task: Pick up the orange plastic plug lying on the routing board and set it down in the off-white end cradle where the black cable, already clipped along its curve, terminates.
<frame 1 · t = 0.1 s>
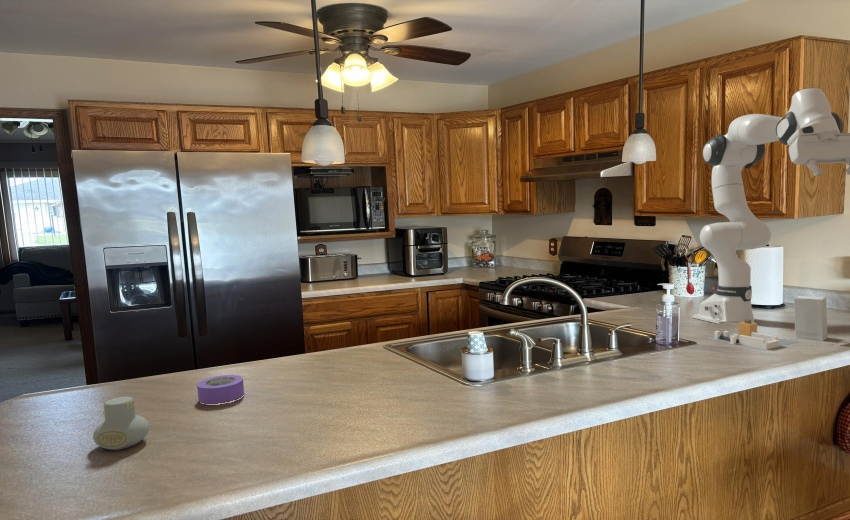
hand: (835, 174, 168), 54 cm above the countertop, tool tilted 30°, fingers open, 8 cm apart
air freshener: (122, 445, 128), on the countertop
skincare box: (810, 341, 194), on the countertop
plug: (747, 337, 198), point 1 cm above the countertop, touching route board
route board: (750, 343, 194), on the countertop
tape roll: (221, 399, 158), on the countertop
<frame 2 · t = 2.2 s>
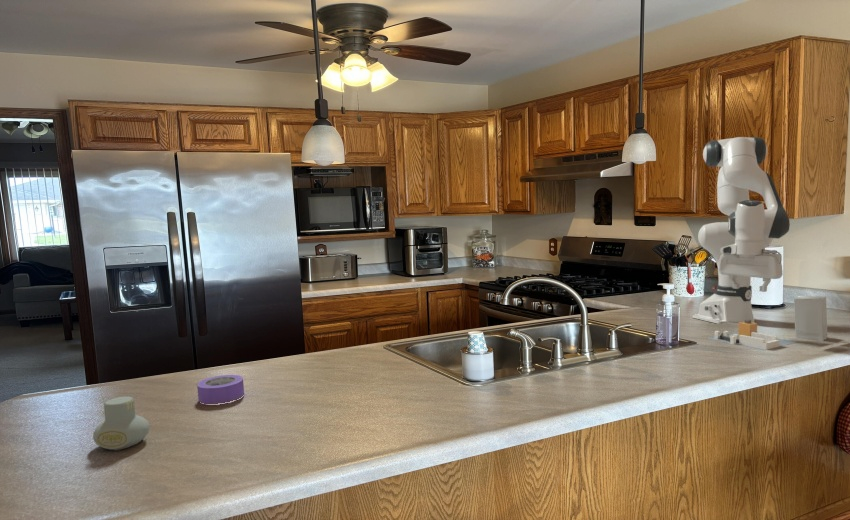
hand: (749, 290, 196), 17 cm above the countertop, tool pointing down, fingers open, 8 cm apart
nothing on the countertop moved.
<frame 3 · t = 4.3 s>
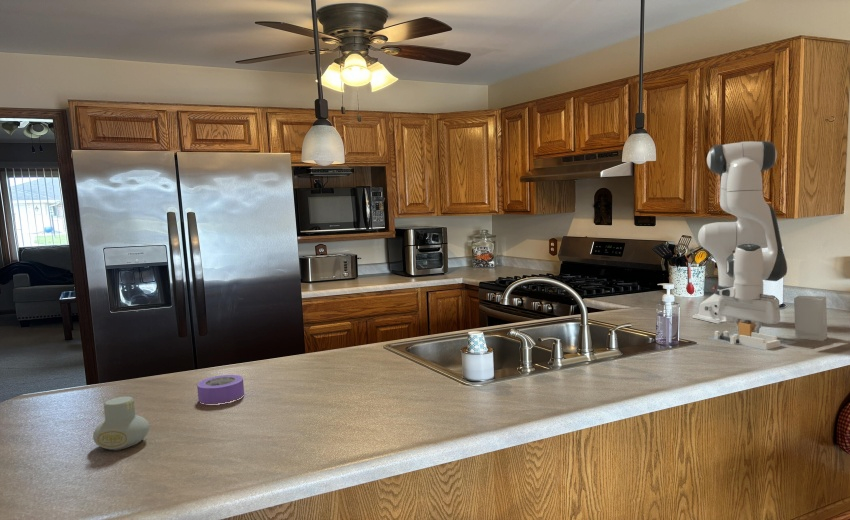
hand: (747, 332, 197), 3 cm above the countertop, tool pointing down, fingers closed on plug, 4 cm apart
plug: (747, 337, 198), point 1 cm above the countertop, touching gripper, route board
everything else where it was.
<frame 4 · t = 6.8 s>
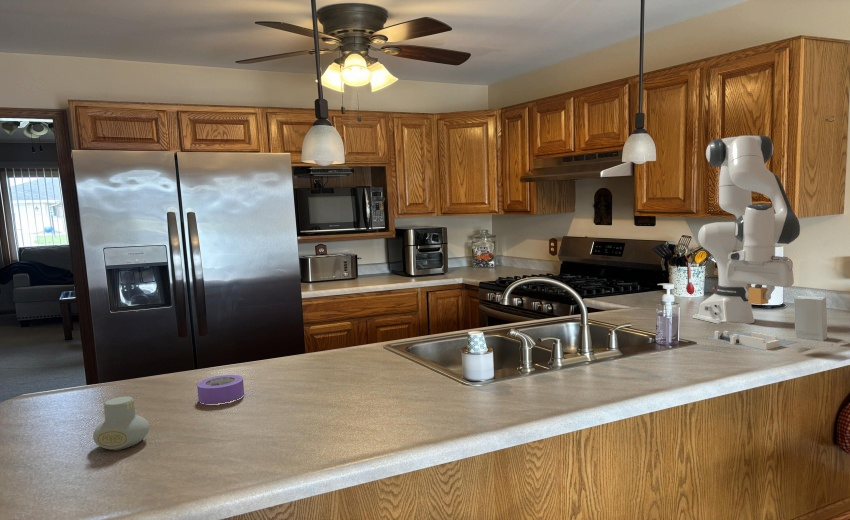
hand: (758, 298, 186), 16 cm above the countertop, tool pointing down, fingers closed on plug, 4 cm apart
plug: (758, 303, 186), point 15 cm above the countertop, touching gripper
everything else where it was.
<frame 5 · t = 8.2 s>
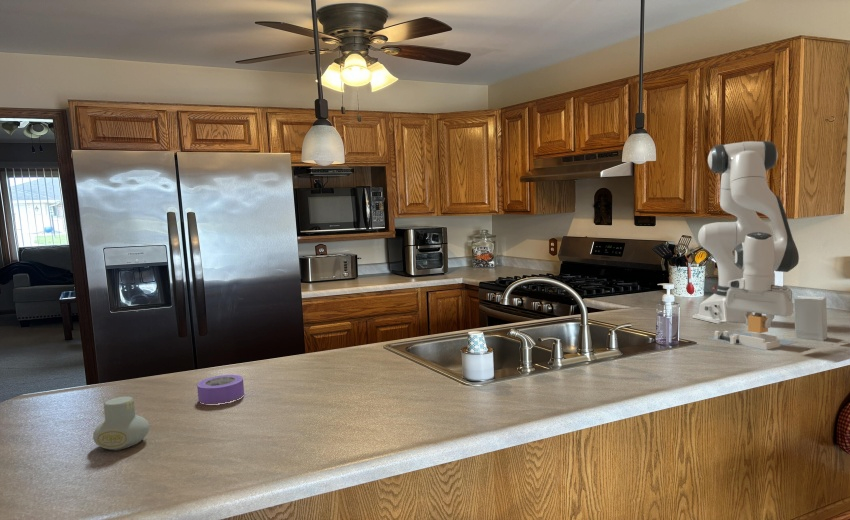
hand: (758, 326, 186), 7 cm above the countertop, tool pointing down, fingers closed on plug, 4 cm apart
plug: (758, 331, 187), point 6 cm above the countertop, touching gripper
everything else where it was.
when the fingers open (4 cm above the countertop, at t = 9.3 s): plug stays where it is, resting on route board.
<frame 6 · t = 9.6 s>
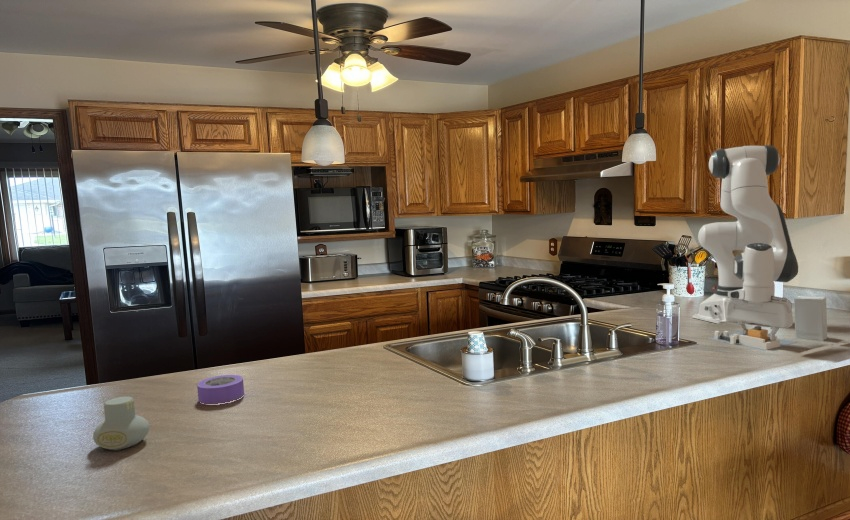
hand: (757, 337, 187), 4 cm above the countertop, tool pointing down, fingers open, 7 cm apart
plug: (757, 344, 187), point 1 cm above the countertop, touching route board
everything else where it was.
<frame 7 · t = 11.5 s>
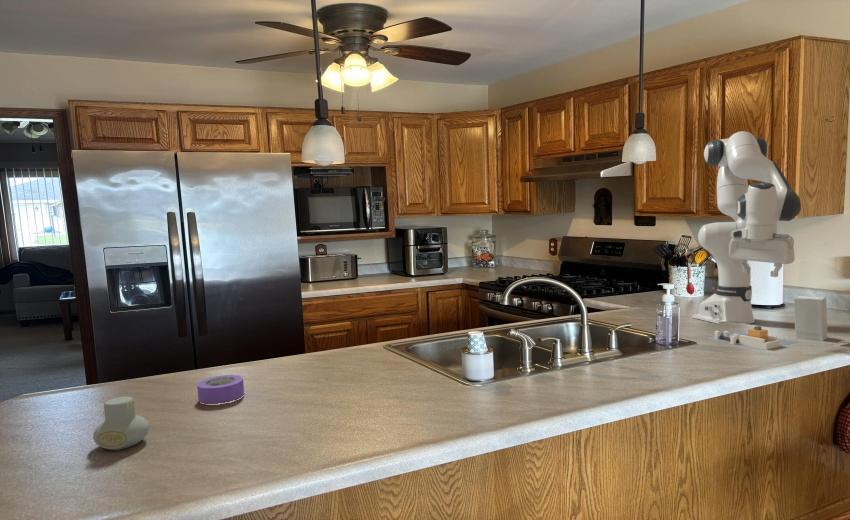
hand: (760, 274, 191), 23 cm above the countertop, tool pointing down, fingers open, 8 cm apart
nothing on the countertop moved.
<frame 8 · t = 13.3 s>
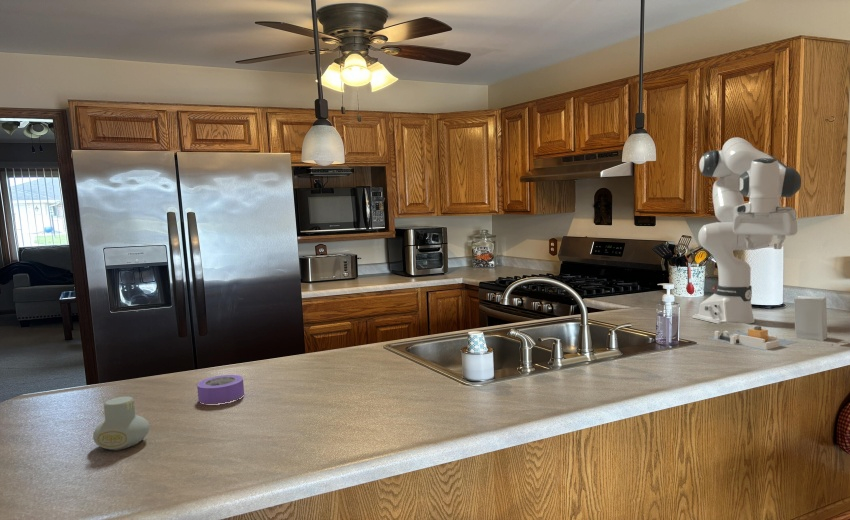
hand: (763, 248, 195), 31 cm above the countertop, tool pointing down, fingers open, 8 cm apart
nothing on the countertop moved.
at the end: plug 0.0 cm from the target spot on the route board, point 1.0 cm above the route board's base; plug tilted 0°; the gripper is holding nothing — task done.
